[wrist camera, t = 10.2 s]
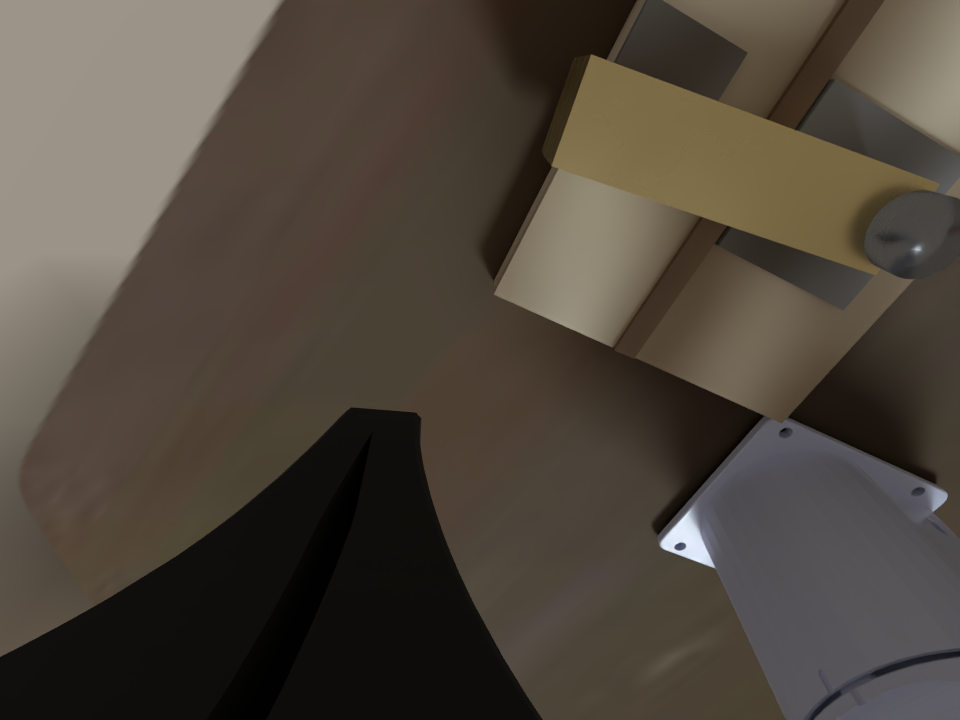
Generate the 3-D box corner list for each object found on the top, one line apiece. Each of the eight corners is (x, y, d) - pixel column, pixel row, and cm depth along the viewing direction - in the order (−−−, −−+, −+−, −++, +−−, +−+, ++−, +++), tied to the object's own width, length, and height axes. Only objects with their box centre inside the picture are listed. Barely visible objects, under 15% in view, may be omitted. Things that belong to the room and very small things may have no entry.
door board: (1401, -316, 12) (1520, -366, 10) (766, 405, 21) (785, 428, 19) (1017, -748, 9) (1106, -885, 8) (493, 281, 18) (493, 297, 17)
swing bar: (897, 177, 15) (999, 202, 12) (845, 255, 16) (928, 296, 13) (573, 57, 14) (597, 52, 11) (540, 151, 15) (554, 171, 12)
